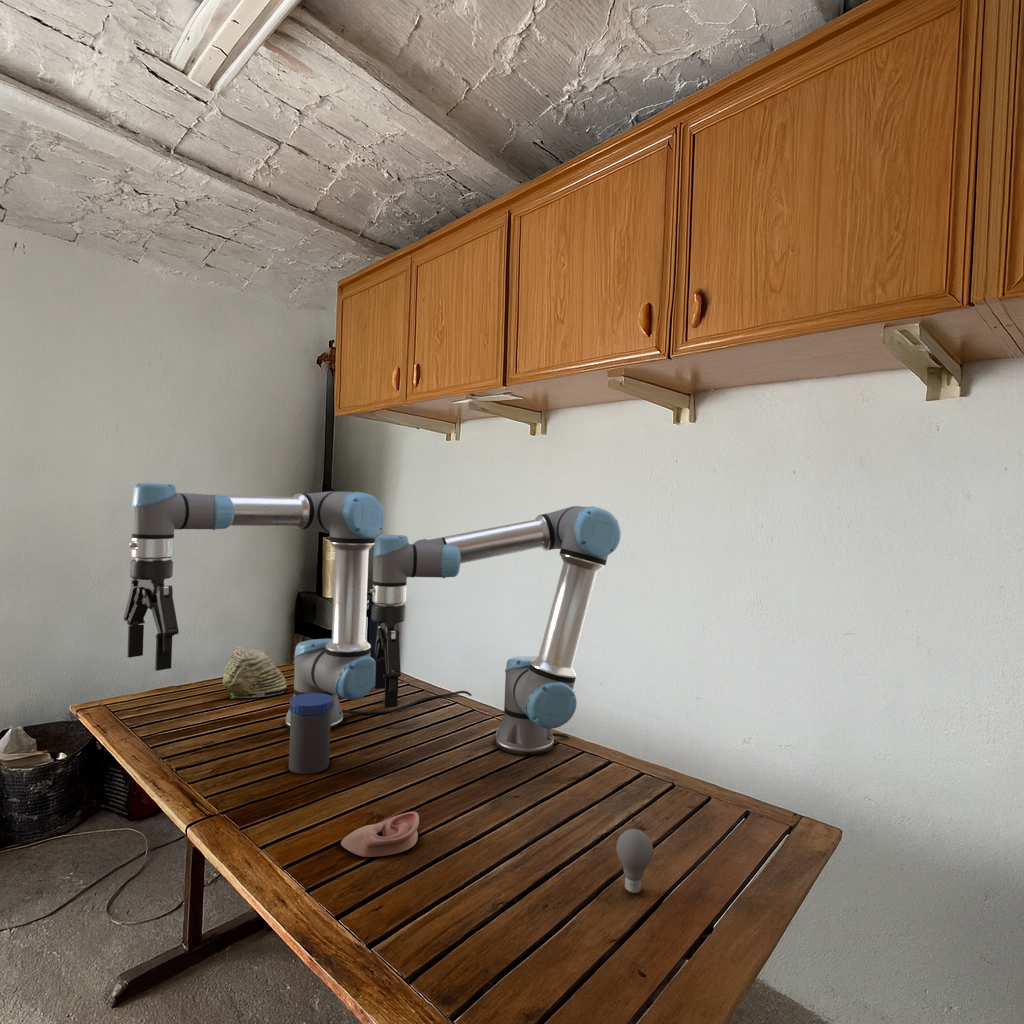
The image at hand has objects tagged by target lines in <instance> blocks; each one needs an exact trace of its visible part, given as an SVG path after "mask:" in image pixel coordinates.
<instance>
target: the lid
mask: <svg viewBox="0 0 1024 1024" xmlns="http://www.w3.org/2000/svg"><path fill="white" fill-rule="evenodd" d="M293 696H294V695H293ZM293 696H292V697H290V699H289V704H288V710H290V712H292V713H294V714H298V715H317V714H322V713H326V712H328V711H330V710H331V709H332V708H333V697H332V696H330V695H328V694H324V693H306V694H300V695H297V696H294V697H293Z"/></svg>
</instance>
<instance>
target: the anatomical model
mask: <svg viewBox="0 0 1024 1024" xmlns="http://www.w3.org/2000/svg"><path fill="white" fill-rule="evenodd" d="M419 823H420V816H419V813H418V812H416V811H408V812H404V813H400V814H397V815H395V816H392V817H389V818H387V819H385V820H383V821H380V822H378V823H374V824H367V825H364V826H361V827H359V828H357V829H355V830H354V831H352V832H350V833H349V834H347V835H346V836H345V837H344V838H342V840H341V841H340V845H341V847H342V848H344V850H347V851H348V852H350V853H351V854H354V855H357V856H358V857H362V858H375V857H376V858H377V857H383V856H384V857H385V856H390V855H395V854H396V855H397V854H400V853H402V852H405V851H407V850H409V849H411V848H413V847H414V846H415V845H416V843H417V842H418V838H419V833H418V827H419Z"/></svg>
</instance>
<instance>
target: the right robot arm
mask: <svg viewBox="0 0 1024 1024" xmlns="http://www.w3.org/2000/svg"><path fill="white" fill-rule="evenodd" d="M621 532H622V531H621V526H620V523H619V521H618V520H617V518H616V516H615V515H614V514H612V513H611V512H610V511H609V510H607V509H604V508H601V507H598V506H594V505H593V506H580V505H579V506H578V505H574V506H573V505H572V506H569V507H565V508H560V509H558V510H555V511H550V512H548V513H543V514H538V515H537V516H536V517H535V518H534V519H531V520H527V521H521V522H516V523H511V524H505V525H499V526H495V527H489V528H488V527H487V528H484V529H478V530H474V531H468V532H462V533H457V534H452V535H447V536H443V537H442V536H441V537H436V538H431V539H427V538H424V539H423V538H422V539H419V540H416V541H414V542H413V543H410V542H409V537H408V536H406V535H403V534H402V535H401V534H380V535H379V534H378V535H376V536H375V544H374V545H373V554H372V556H373V557H372V588H370V589H369V593H370V594H372V599H371V601H372V603H373V604H372V605H371V615H370V617H371V621H372V622H374V623H377V630H376V639H375V645H374V652H373V654H374V656H375V658H374V659H375V662H376V670H375V685H374V690H383V689H384V702H383V703H384V704H383V707H384V708H385V709H386V708H387V709H388V708H398V703H399V702H398V701H399V700H398V698H399V678H400V677H401V676H402V672H401V653H400V630H399V629H397V627H396V625H397V624H398V623H399V624H400V623H402V622H404V621H405V620H406V609H407V608H406V607H407V606H406V604H405V603H406V602H407V591H408V589H407V588H408V587H407V586H408V585H407V580H408V578H440V579H441V578H442V579H446V578H456V577H457V576H458V575H459V573H460V570H461V565H462V564H466V563H471V562H476V561H481V560H486V559H493V558H497V557H501V556H507V555H511V554H516V553H517V554H518V553H521V552H522V553H523V552H528V551H531V550H537V549H541V550H543V551H545V552H547V551H552V550H559V556H560V559H561V560H562V566H561V570H560V573H559V578H558V582H557V585H556V589H555V592H554V597H553V600H552V604H551V607H550V612H549V616H548V619H547V623H546V627H545V630H544V635H543V638H542V642H541V646H540V649H539V652H538V653H539V654H538V656H531V655H530V656H529V655H528V656H527V655H526V656H514V657H513V656H512V657H510V658H508V659H507V661H506V664H505V670H504V672H505V679H504V680H505V682H504V703H503V705H504V707H503V715H502V718H501V721H500V724H499V726H498V728H497V730H496V732H495V745H496V746H497V748H499V749H500V750H502V751H504V752H506V753H509V754H514V755H520V756H538V755H542V754H546V753H548V752H550V751H552V749H553V748H554V739H555V738H554V737H556V738H558V737H559V738H565V739H568V737H569V734H566V733H559V732H553V731H552V730H553V729H558V728H560V727H562V726H564V725H565V724H567V723H568V722H569V721H570V720H571V719H572V718H573V717H574V714H575V712H576V710H577V701H578V700H577V695H576V693H575V691H574V687H575V682H576V678H577V673H576V671H575V670H574V667H573V665H574V661H575V658H576V654H577V650H578V646H579V642H580V639H581V636H582V635H581V634H582V632H583V628H584V624H585V620H586V615H587V613H588V608H589V605H590V601H591V597H592V593H593V590H594V585H595V581H596V579H597V574H598V572H599V571H601V570H602V569H604V568H605V567H606V565H607V562H608V561H607V560H608V557H609V555H611V554H612V553H614V552H615V551H616V550H617V548H618V546H619V544H620V542H621V536H622V533H621ZM566 735H567V736H566Z"/></svg>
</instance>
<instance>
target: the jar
mask: <svg viewBox="0 0 1024 1024" xmlns="http://www.w3.org/2000/svg"><path fill="white" fill-rule="evenodd" d="M330 726H331V710H330V711H328V712H326V713H322V714H317V715H298V714H294V713H292V712H291V719H290V729H289V749H288V769H289V771H290V772H292V773H294V774H301V775H311V774H316V773H320V772H322V771H323V772H324V771H325V770H326V769H328V768H329V766H330V749H331V748H330V747H331V729H330Z"/></svg>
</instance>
